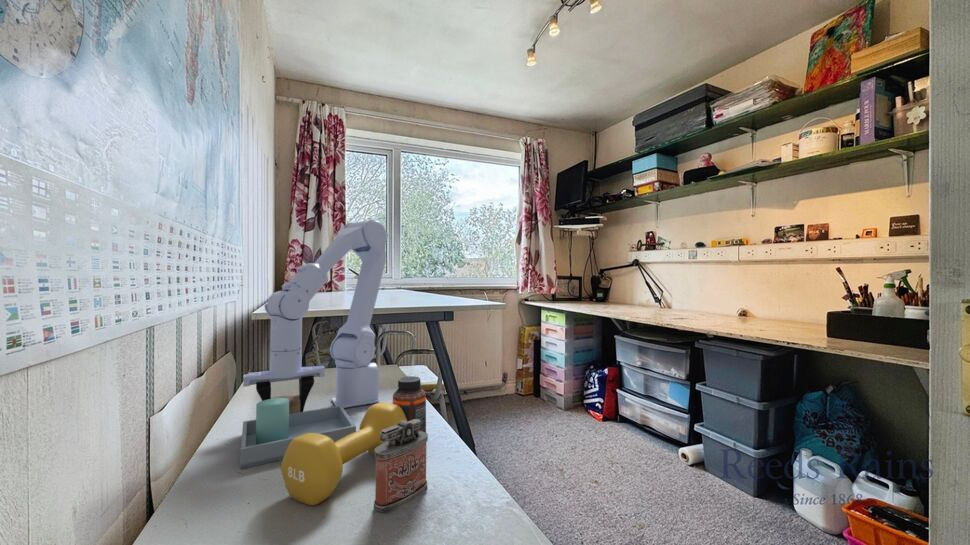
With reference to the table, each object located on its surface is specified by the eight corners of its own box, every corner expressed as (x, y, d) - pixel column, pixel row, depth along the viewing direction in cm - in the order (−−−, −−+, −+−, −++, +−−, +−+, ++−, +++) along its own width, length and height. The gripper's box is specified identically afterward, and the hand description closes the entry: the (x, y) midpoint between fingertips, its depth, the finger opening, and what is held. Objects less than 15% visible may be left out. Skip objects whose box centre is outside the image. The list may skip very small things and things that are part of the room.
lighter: (416, 480, 53) (417, 411, 54) (432, 489, 51) (433, 417, 51) (368, 507, 47) (368, 428, 47) (383, 518, 45) (384, 435, 45)
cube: (297, 417, 78) (297, 393, 78) (300, 424, 74) (300, 399, 74) (270, 421, 76) (270, 397, 76) (271, 430, 71) (271, 404, 71)
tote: (341, 419, 77) (341, 405, 77) (355, 443, 66) (355, 426, 66) (242, 438, 68) (243, 421, 68) (240, 469, 57) (240, 449, 57)
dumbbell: (374, 442, 66) (374, 397, 66) (414, 453, 62) (415, 404, 62) (273, 498, 49) (274, 436, 49) (319, 517, 45) (320, 450, 45)
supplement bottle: (429, 435, 69) (430, 374, 69) (421, 449, 63) (421, 383, 63) (398, 434, 70) (399, 374, 70) (387, 448, 64) (387, 382, 64)
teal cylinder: (259, 438, 66) (260, 399, 66) (290, 434, 68) (291, 396, 68) (252, 451, 61) (253, 408, 61) (286, 446, 63) (286, 405, 63)
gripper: (321, 343, 82) (320, 404, 82) (244, 349, 75) (243, 417, 74) (326, 348, 76) (325, 414, 76) (243, 355, 69) (242, 428, 68)
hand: (285, 416), depth 75 cm, fingers closed on cube, 5 cm apart
